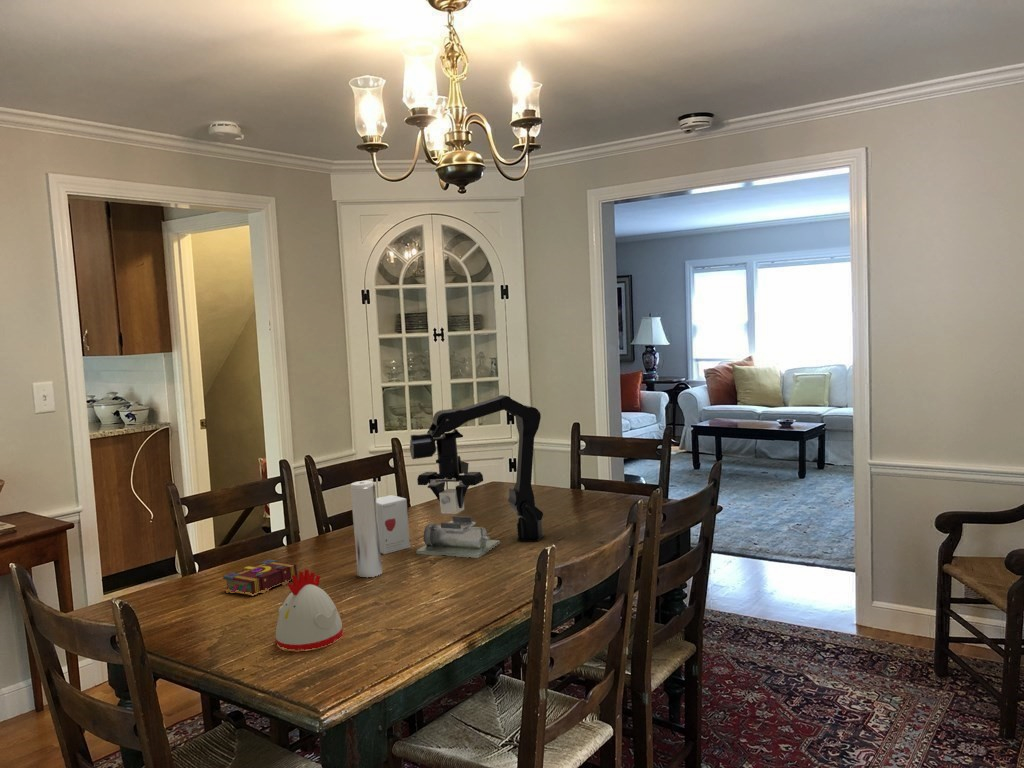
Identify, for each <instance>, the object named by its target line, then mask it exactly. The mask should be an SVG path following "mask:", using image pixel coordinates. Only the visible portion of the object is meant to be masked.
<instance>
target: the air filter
mask: <svg viewBox="0 0 1024 768" xmlns="http://www.w3.org/2000/svg"><path fill="white" fill-rule="evenodd" d="M376 491H377V490H376V485H375V484H374V483H373V481H371V480H361V481H360V480H359V481H354V482H352V483H350V500H351V510H352V512H351V513H352V522H353V533H354V534H353V536H354V544H355V556H356V557H355V558H356V570H357V576H358V577H359V576H360V577H367V578H366V579H369V578H368V577H372V578H376V577H379V576H381V575H382V574H383V566H382V553H381V551H380V539H379V527H378V515H377V503H376V498H377V496H376V495H377V492H376ZM380 574H381V575H380ZM378 575H379V576H378ZM375 576H376V577H375ZM360 577H359V578H360Z"/></svg>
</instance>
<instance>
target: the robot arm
mask: <svg viewBox="0 0 1024 768" xmlns="http://www.w3.org/2000/svg"><path fill="white" fill-rule="evenodd" d="M501 411H505V412H507V413H508V414H509V415H511V416H514V417H515V423H516V429H517V432H518V446H517V447H518V450H517V466H516V481H515V485H514V487H513V488H511V487H510V488H508V494H509V496H508V500H507V502H508V503H509V506H510V508H511V509H512V510H513V511H514V512H516V515H517V516H518V519H517V523H516V524H517V525H516V527H517V528H516V529H517V538H516V539H517V541H525V542H527V541H528V542H539V541H540V540H541V539H542V538H544V537H545V533H543V525H542V523H543V522H542V521H543V515H544V513H543V511H542V510H540V508H538V507H537V506H536V504H535V503H536V501H535V495H534V494H535V493H534V489H533V487H532V486H533V485H532V480H533V479H532V478H533V464H534V463H533V461H534V445H535V436H536V435H537V432H538V430H539V427H540V422H541V418H542V416H541V415H542V414H541V412H540V411H539V410H538V409H537V407H533V406H530V405H525V404H523V403H520V402H518V401H516V400H514V399H512V398H511V396H508V395H504V394H501V395H499V396H497V397H494V398H490V399H487V400H483V401H481V402H478V403H475V404H471V405H468V406H465V407H461V408H449V409H440V410H438V411H436V412H435V413H434V415H433V417H432V423H431V425H430V427H429V428H428V430H427V432H426V433H424V434H423V433H421V434H411V435H410V443H409V452H410V456H411V459H412V460H417V459H425V458H432V457H433V456H434V455H435V454H436V453H437V454H436V455H437V459H435V464H438V472H437V471H425V472H422V473H420V474H418V476H417V479H416V482H417V486H427V489H430V490H431V491H432V492H433V494H434V495H435V497H436V498H437V500H438V502H439V503H440V497H439V493H440V492H442V491H444V490H445V487H446V483H448V482H449V483H450V482H453V483H454V482H455V483H456V482H458V485H456V486H455V489H456V493H457V499H458V505H459V508H462V506H463V502H464V503H465V497H466V494H467V492H468V489H469V487H472V486H476V485H478V484H480V483H482V482H484V476H483V473H482V472H481V471H469V463H468V462H466V461H462V459H461V456H460V455H459V453H458V444H457V439H460V438H463V437H464V435H463V434H462V433H460V432H459V430H458V428H459V427H461V426H462V425H464V424H466V423H468V422H470V421H473V420H476V419H479V418H482V417H486V416H489V415H492V414H495V413H497V412H498V413H499V412H501Z"/></svg>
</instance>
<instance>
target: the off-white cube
mask: <svg viewBox="0 0 1024 768" xmlns="http://www.w3.org/2000/svg"><path fill="white" fill-rule="evenodd" d="M439 497H440V502H439V504H440V514H443V515H444V514H448V515H450V514H452V515H457V514H459V513H460V512H462V511H464V510H465V501H464V502H463V506H462V508H459V505H458V499H457V493H456V488H446V489H444V491H442V492H440V493H439Z"/></svg>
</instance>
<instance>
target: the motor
mask: <svg viewBox="0 0 1024 768" xmlns="http://www.w3.org/2000/svg"><path fill="white" fill-rule="evenodd" d="M475 525H476V521H473V516H463V515H462V516H459V515H454V516H452V520H450V521H448V522H443V521H442V522H440V524H438V523H428V524H427V525H426V526H425V528H424V532H423V542H424V544H425V545H423V546H422V547H419V548H418V549H416V551H415V553H416V555H417V554H418V555H429V556H430V555H431V556H441V555H446V556H445V557H455V556H456V557H458V558H469V557H471V559H472V558H473V559H474V558H475V559H480V558H481V557H482V555H483V556H484V555H486V554H487V553H488V552H490V551H491V550H493V549H495V548H496V547H497V546H499V545H500V544H501V540H497V539H491V536H489V535H488V534H487V533H488V532H487V529H486V528H485V527H482V526H475ZM498 544H499V545H498ZM495 546H496V547H495ZM492 548H493V549H492ZM489 550H490V551H489ZM486 552H487V553H486ZM479 557H480V558H479Z"/></svg>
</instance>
